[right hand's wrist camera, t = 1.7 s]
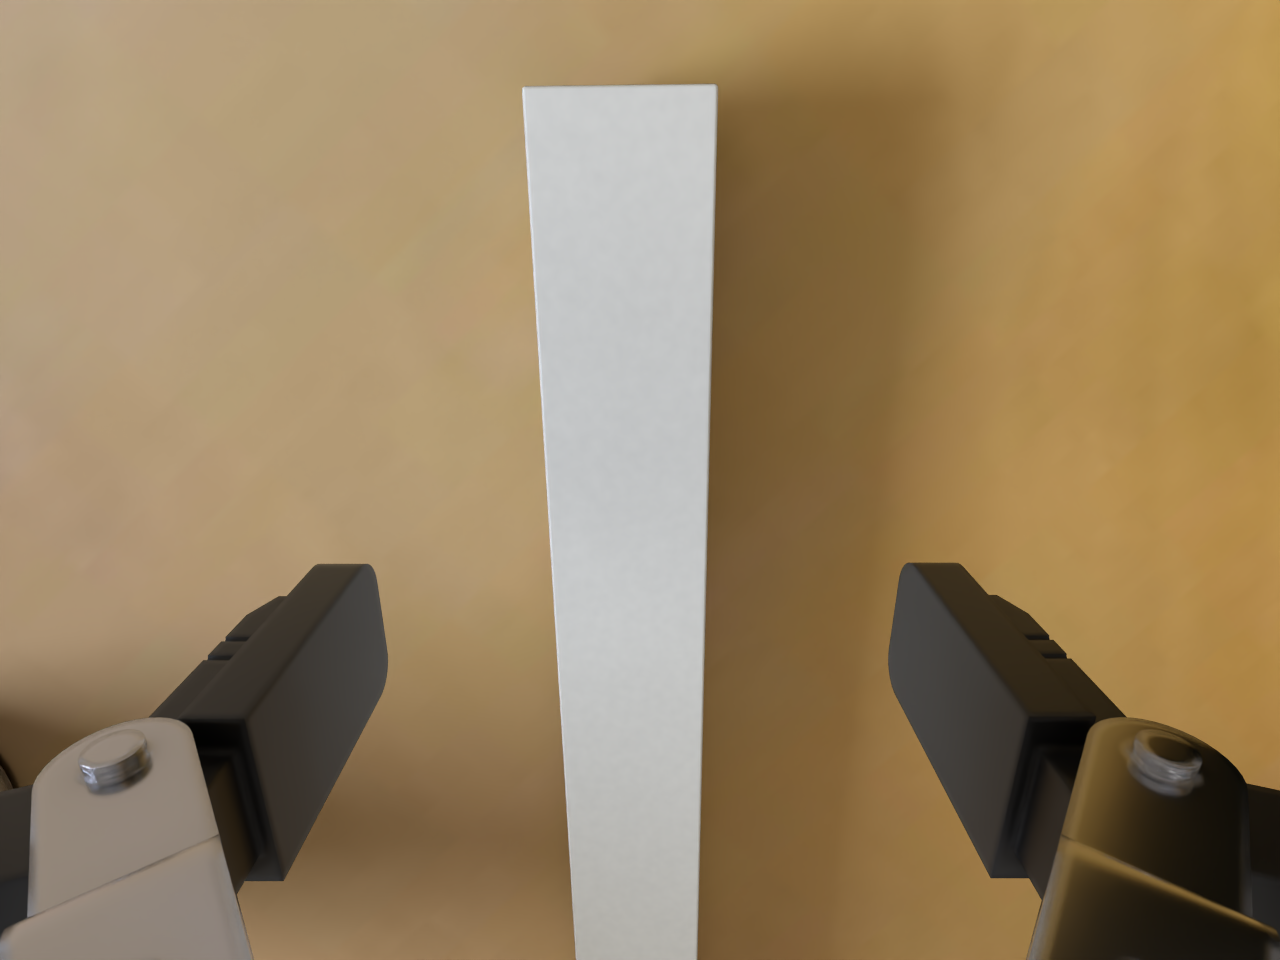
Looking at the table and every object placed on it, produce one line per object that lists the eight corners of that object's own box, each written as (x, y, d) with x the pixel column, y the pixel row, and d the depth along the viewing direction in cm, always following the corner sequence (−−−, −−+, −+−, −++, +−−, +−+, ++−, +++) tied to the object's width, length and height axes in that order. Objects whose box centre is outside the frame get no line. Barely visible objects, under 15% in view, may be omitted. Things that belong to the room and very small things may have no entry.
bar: (553, 119, 21) (521, 85, 15) (695, 117, 21) (718, 82, 15) (607, 1223, 42) (602, 1394, 36) (679, 1222, 42) (686, 1393, 36)
